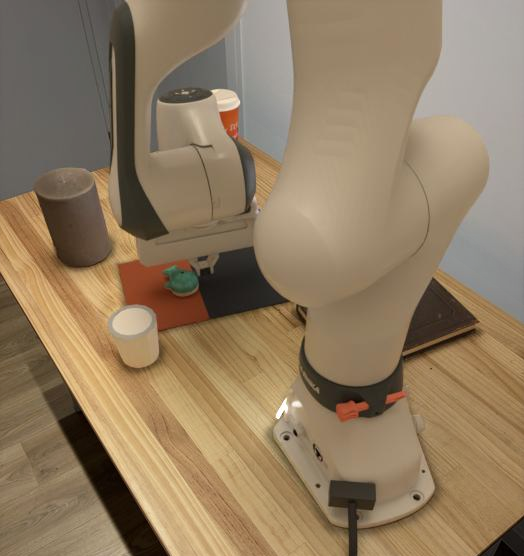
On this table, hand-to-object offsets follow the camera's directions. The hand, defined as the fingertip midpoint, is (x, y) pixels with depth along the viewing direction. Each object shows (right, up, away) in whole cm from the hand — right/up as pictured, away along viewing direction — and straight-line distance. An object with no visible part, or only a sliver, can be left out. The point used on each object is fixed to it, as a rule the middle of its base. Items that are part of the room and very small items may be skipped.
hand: (204, 272), depth 92 cm
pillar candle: (-22, +5, +7) cm, 24 cm away
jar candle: (-9, -14, -9) cm, 19 cm away
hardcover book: (+29, -9, -5) cm, 30 cm away
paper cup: (+1, +28, +28) cm, 39 cm away
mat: (0, -1, +1) cm, 2 cm away
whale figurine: (-4, -2, +1) cm, 5 cm away
